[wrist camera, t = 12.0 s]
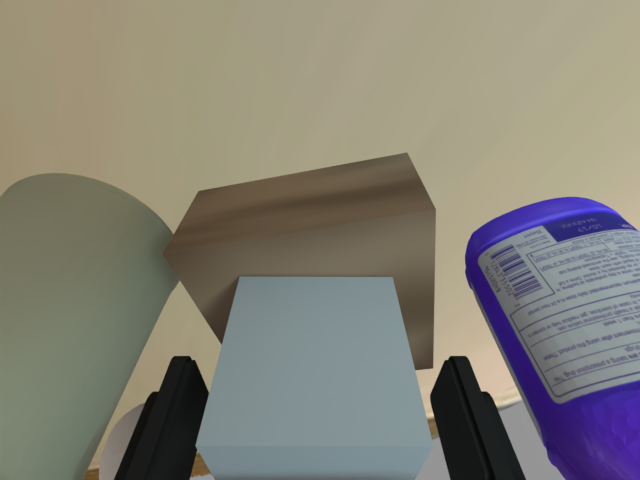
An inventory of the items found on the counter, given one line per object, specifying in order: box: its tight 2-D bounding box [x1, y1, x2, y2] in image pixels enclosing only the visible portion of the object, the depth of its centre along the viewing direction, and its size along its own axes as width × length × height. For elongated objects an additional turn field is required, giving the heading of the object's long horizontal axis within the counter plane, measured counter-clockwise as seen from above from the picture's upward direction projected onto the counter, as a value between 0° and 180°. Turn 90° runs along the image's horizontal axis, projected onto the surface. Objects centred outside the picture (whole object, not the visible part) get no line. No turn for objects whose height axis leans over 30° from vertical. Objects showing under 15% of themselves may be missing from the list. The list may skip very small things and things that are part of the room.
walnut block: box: [163, 153, 436, 370], centre depth 17 cm, size 10×10×5 cm
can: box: [0, 173, 180, 480], centre depth 14 cm, size 9×9×12 cm
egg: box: [99, 403, 145, 480], centre depth 27 cm, size 5×5×7 cm
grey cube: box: [196, 276, 433, 480], centre depth 13 cm, size 6×6×6 cm
